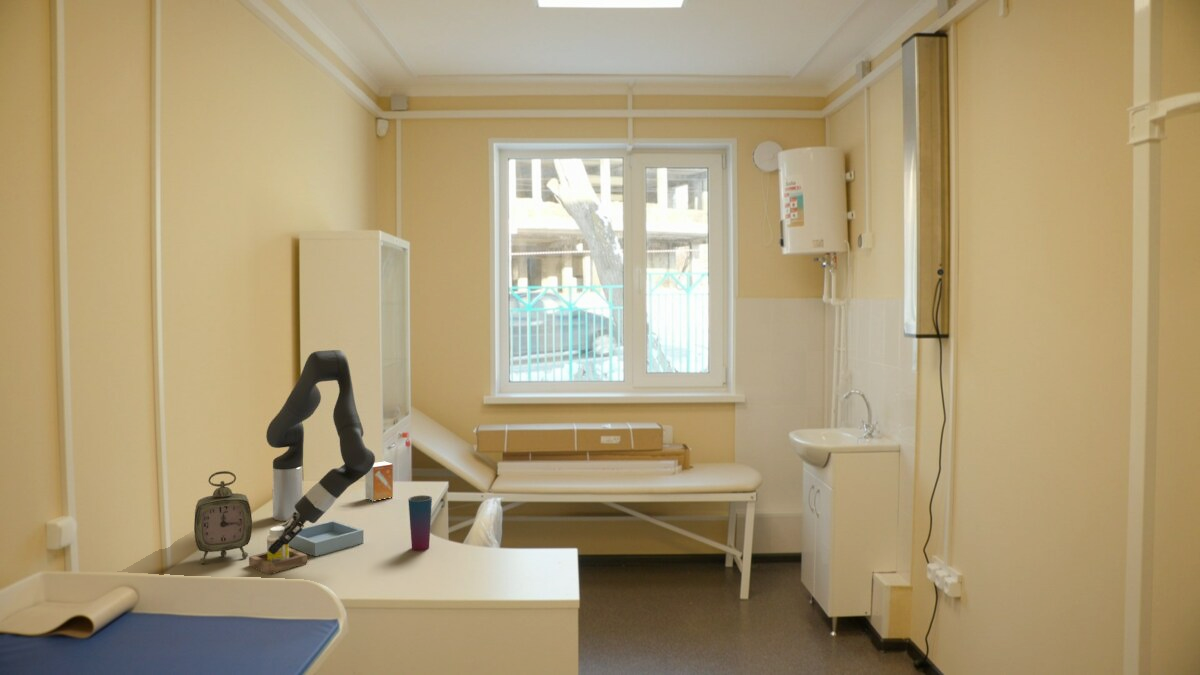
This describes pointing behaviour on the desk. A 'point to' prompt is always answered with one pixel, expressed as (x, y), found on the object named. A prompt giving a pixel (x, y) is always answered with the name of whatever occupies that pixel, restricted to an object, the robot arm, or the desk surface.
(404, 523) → the desk surface
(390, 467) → the small box
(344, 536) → the tray
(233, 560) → the desk surface
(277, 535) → the supplement bottle
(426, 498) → the cup
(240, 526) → the tabletop clock
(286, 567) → the holder
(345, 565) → the desk surface
